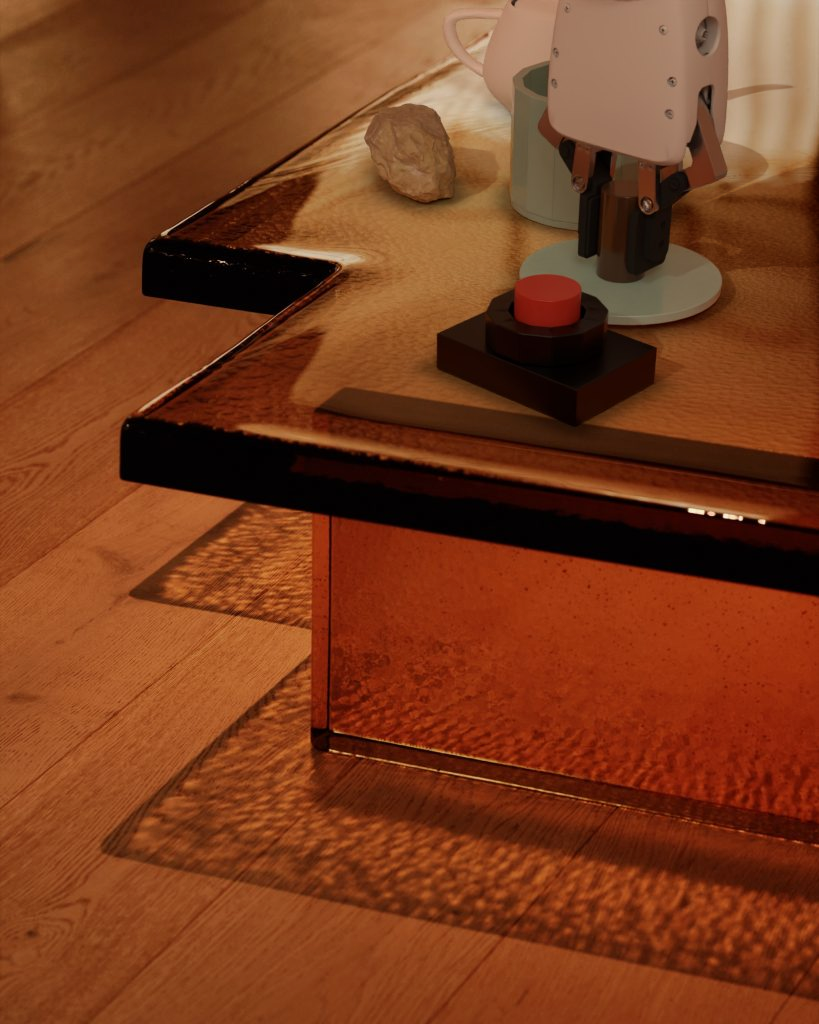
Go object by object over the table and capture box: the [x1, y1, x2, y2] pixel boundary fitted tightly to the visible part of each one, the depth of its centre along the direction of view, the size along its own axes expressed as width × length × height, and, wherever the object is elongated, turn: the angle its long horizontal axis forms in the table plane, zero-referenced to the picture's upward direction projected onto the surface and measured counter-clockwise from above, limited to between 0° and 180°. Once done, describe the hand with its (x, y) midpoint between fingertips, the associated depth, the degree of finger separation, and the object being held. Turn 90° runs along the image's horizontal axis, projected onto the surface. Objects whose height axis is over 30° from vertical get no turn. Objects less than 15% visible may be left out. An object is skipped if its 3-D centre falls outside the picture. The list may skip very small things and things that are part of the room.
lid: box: [518, 180, 723, 326], centre depth 97 cm, size 12×12×7 cm
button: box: [514, 274, 582, 327], centre depth 87 cm, size 4×4×2 cm
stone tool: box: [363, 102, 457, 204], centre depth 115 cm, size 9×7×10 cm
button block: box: [436, 288, 658, 427], centre depth 88 cm, size 10×7×4 cm
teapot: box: [442, 0, 559, 113], centre depth 127 cm, size 22×14×11 cm, turn 78°
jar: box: [508, 61, 675, 232], centre depth 110 cm, size 11×11×8 cm
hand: (621, 257), depth 98 cm, fingers closed on lid, 3 cm apart
